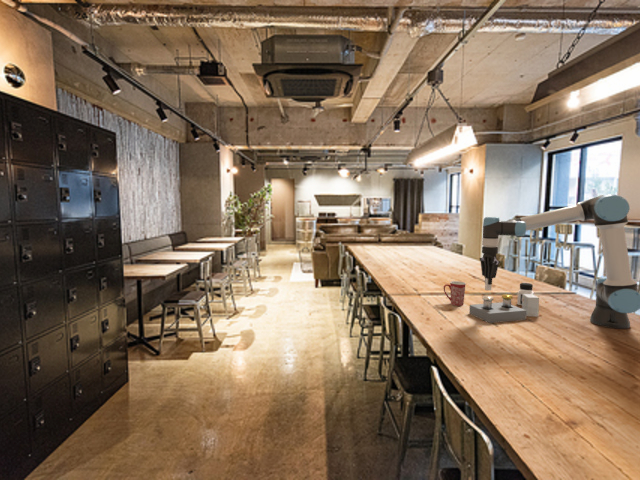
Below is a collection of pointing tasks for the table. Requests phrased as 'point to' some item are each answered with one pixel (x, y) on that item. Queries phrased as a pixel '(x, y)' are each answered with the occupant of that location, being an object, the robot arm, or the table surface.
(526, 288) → the container
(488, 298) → the plug cream
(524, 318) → the block
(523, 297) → the small box
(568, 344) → the table surface
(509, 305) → the gold lidded glass jar
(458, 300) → the mug
